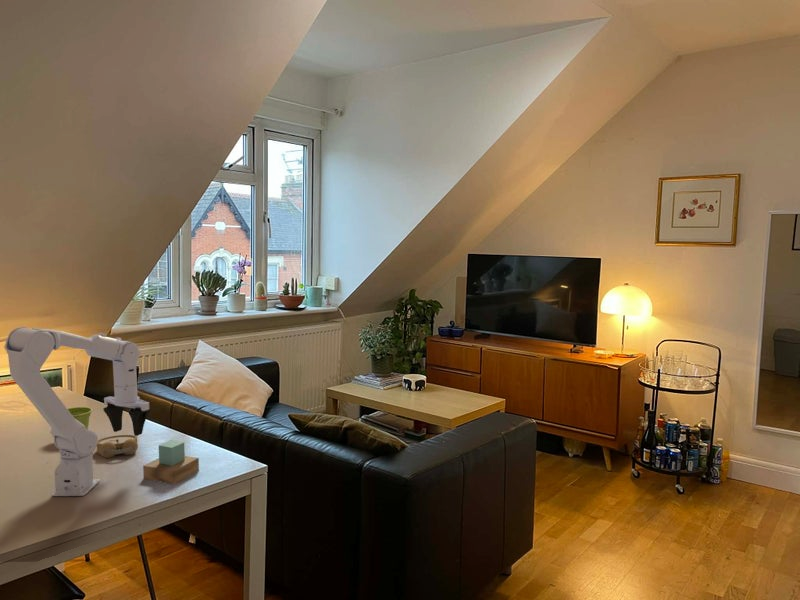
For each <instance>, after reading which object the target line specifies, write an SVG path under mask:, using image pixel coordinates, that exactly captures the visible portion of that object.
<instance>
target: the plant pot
mask: <svg viewBox="0 0 800 600" xmlns="http://www.w3.org/2000/svg"><path fill="white" fill-rule="evenodd" d="M67 409H68V410H69V412H70V413H71V414H72V416H73V417H74V418H75V419H76V420H77V421H79V422H80V423H82V424H83V425H84V426H85V427H86V428H87V429H88V430H89V422H90V417H91V413H92V412H93V408H91V407H87V406H77V407H75V406H74V407H68V408H67Z"/></svg>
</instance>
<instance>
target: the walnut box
mask: <svg viewBox="0 0 800 600" xmlns="http://www.w3.org/2000/svg"><path fill="white" fill-rule="evenodd" d="M199 459H200V458H199V457H194V456H190V455H189V456H188V455H185V460H184V461H182V462H180V463H178V464H175V465H173V466H170V465H166V464H161V463H159V457H158V458H156V459H154V460H152V461H150V462H148V463H146V464H144V465H142V466H143V468H142V470H143V473H142V474H143V480H147V479H150V480H149V481H153V480H155V482H159V481H161V482H160V483H165V482H166V484H170V485H176V484H178V483H179V481H180V482H182V481H183V480H185V479H186V477H187V478H188V477H190V476H192V475H194V474H196V473H197V472H199V471H200V467H199V465H200V461H199ZM195 472H196V473H195ZM193 473H194V474H193ZM191 474H192V475H191ZM189 475H190V476H189ZM184 478H185V479H184Z"/></svg>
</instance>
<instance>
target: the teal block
mask: <svg viewBox="0 0 800 600" xmlns="http://www.w3.org/2000/svg"><path fill="white" fill-rule="evenodd" d="M185 456H186V455H185V442H184V441H178V440H174V439H170V440H168V441H164V442H163V443H160V444H159V445H158V458H159V463H161V464H166V465H170V466H173V465H175V464H178V463H180V462H182V461H184V460H185Z"/></svg>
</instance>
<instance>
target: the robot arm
mask: <svg viewBox="0 0 800 600" xmlns="http://www.w3.org/2000/svg"><path fill="white" fill-rule="evenodd" d="M61 347H69V348H71V349H79V350H84V351H85V353H86V354H87V356H89V357H93V358H99V359H103V360H108V361H112V373H113V374H112V376H113V391H114V394H113V395H114V396H111V395H110V396H106V397H104V398H103V401H104V402H103V404H104V405H105V407H103V412H104V413H105V414H106V416H107V417H108V420H109V422H110V425H111V427H112V430H113V432H114V433H117V432H120V431H122V428H123V415H124V414H123V412H124V409H125V408H127V409H128V408H130V409H132V410H131V411H128V414H129V417H130V418H131V423H132V428H133V435H135V436H137V437H138V436H140V435H142V434H143V432H144V431H143V430H144V427H145V423H146V419H147V417H148V415H149V414H150V412H151V408H150V402H149V401H146V400H143V399H140V398H141V397H140V396H138V380H137V379H138V378H137V366H138V360H139V358H140V356H141V353H142V352H141V350H140V349H139V346H138V345H137V344H136V343H135V342H132V341H128V340H122V338H121V337H115V338H114V337H109V336H107V334H106V333H101V332H98V334H92V335H91V336H89V337H85V336H82V335H77V334H74V333H70V332H67V331H66V332H65V331H63V330H57V329H47V328H33V327H32V328H29V327H26V326H25V327H24V326H21V327H20V326H19V327H16V328H14V329H12V330H11V331H9V334H8V335H7V338H6V341H5V343H4V347H3V348H4V349H5V352H6V353H7V358H8V367H9V373H10V374H9V375H10V376H11V379H12V380H13V381H14V383H15V384H17V386H18V387H19V389H20V390H21V391H22V392H23V394H24V395H25V396H26V397H27V399H28V400H29V401H30V403H31V404H32V405H33V406H34V408H35V409H36V410H37V411H38V412H39V414H40V415H41V416H42V418H43V419H44V420H45V422H46V423H47V425H48V426H50V428H51V430H50V432H49V433H50V434H51V435H52V437H53V438H52V439H53V444H54V445H55V447H56V448H57V449H59V456H60V461H59V464H58V465H57V466H56V468H55V470H54V485H55V486H54V488H55V491H54V492H52V493H51V497H76V496H77V497H78V496H79V497H81V496H85V495H87V494H88V493H89V492H90V491H92V489H93V488H94V487H95V486H96V485H97V484H98V483H100V482H101V479H98V478H97V479H96V478H95V479H94V463H93V462H94V461H93V460H94V458H93V455H94V451H95V450H96V449H97V444H98V440H99V438H98V435H97V433H95V432H94V431H92V430H90V429H89V428H88V429H87V428H86V427H85V426H84V425H83V424H82V423H80V422H79V421H77V420H76V419H75V418H74V417H73V416H72V414H71V413H70V412H69V410H68V408H67V407H66V405H65V404H64V403H63V401H62V400H61V399H60V398H59V396H58V395H57V393H56V392H55V391H54V390H53V388H52V387H51V385H50V384H49V382H48V381H47V380H46V379H45V378H44V376H43V374H42V373H41V368H43V365H44V364H45V362H46V361H47V360H48V359H49V356H50V355H51V354H52V352H53V350H55V351H56V350H59V348H61Z"/></svg>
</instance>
